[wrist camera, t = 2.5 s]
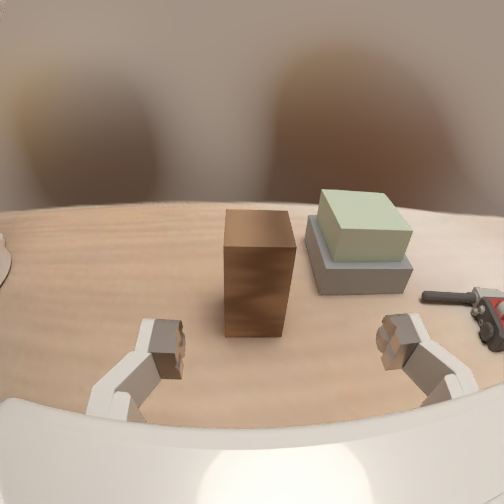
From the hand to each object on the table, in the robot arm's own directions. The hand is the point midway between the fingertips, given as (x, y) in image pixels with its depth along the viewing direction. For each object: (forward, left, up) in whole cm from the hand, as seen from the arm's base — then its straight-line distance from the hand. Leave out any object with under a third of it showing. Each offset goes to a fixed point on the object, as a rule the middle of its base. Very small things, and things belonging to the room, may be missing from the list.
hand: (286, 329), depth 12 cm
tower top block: (+12, +20, -10) cm, 25 cm away
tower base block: (+12, +20, -14) cm, 27 cm away
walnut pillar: (0, +12, -13) cm, 18 cm away
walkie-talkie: (+28, +9, -14) cm, 32 cm away
